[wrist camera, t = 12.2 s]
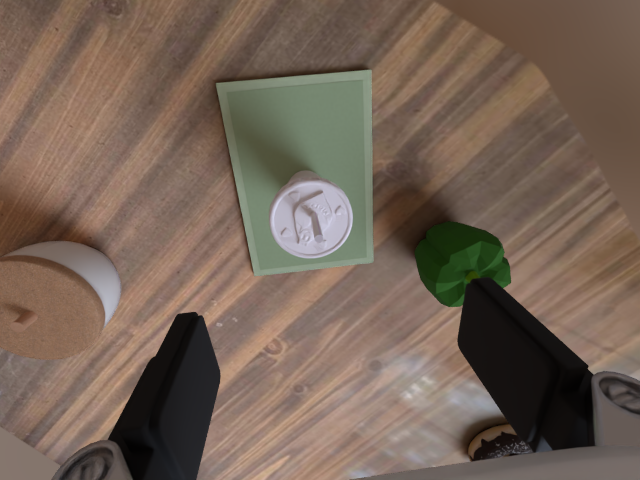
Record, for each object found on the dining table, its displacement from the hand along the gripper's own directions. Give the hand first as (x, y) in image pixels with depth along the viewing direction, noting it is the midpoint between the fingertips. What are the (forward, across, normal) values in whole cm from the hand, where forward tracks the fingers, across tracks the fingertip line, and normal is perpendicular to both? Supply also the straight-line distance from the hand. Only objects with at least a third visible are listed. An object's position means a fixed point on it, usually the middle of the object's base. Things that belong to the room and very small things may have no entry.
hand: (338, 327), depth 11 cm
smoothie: (+22, 0, +1) cm, 23 cm away
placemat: (+23, 0, +1) cm, 23 cm away
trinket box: (+23, +25, +8) cm, 35 cm away
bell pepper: (+23, -15, +10) cm, 29 cm away
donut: (+22, -29, +50) cm, 62 cm away
